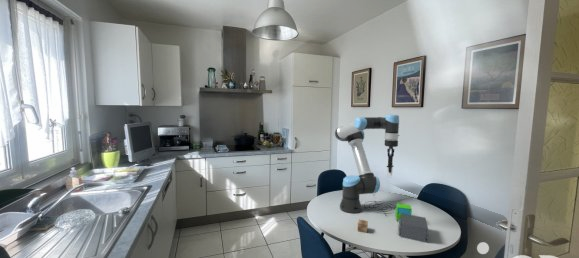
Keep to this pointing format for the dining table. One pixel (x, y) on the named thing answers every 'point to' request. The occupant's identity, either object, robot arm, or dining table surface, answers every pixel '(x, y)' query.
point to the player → (414, 227)
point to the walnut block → (362, 226)
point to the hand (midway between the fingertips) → (389, 177)
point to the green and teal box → (402, 210)
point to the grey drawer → (399, 227)
